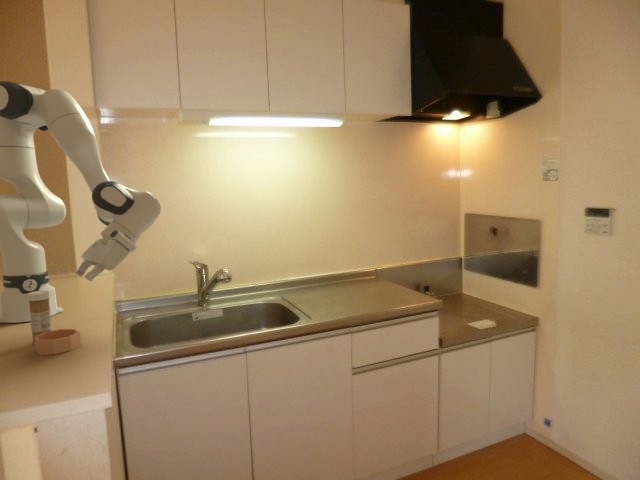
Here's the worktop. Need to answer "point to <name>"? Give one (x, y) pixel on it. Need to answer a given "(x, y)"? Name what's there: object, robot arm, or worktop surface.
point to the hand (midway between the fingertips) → (82, 277)
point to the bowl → (57, 341)
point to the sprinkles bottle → (39, 312)
